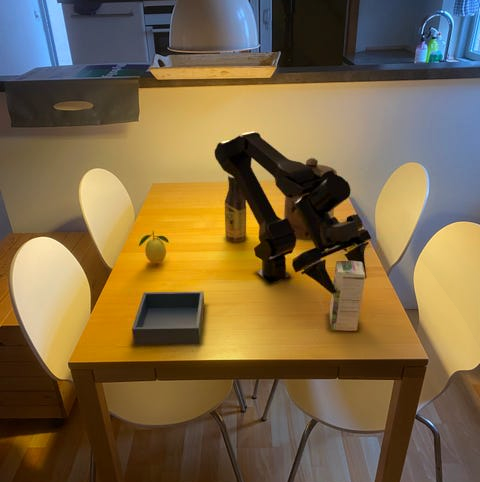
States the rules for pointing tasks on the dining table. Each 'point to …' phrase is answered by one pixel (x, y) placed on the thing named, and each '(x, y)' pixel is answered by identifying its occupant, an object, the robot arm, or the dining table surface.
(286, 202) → the wooden container
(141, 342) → the bin
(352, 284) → the syrup box
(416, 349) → the dining table surface
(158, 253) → the lemon
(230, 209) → the sauce bottle
